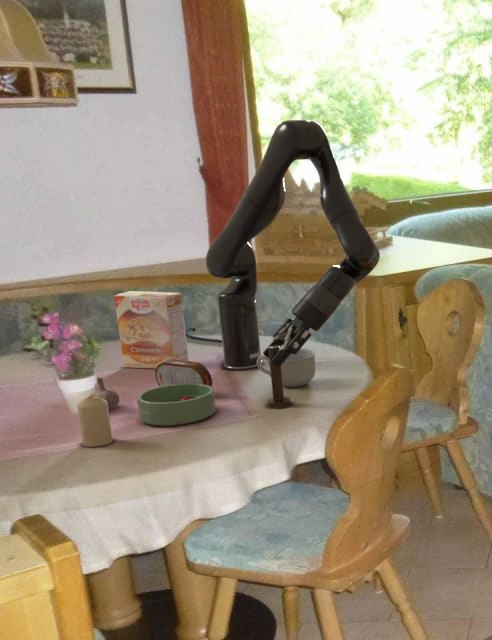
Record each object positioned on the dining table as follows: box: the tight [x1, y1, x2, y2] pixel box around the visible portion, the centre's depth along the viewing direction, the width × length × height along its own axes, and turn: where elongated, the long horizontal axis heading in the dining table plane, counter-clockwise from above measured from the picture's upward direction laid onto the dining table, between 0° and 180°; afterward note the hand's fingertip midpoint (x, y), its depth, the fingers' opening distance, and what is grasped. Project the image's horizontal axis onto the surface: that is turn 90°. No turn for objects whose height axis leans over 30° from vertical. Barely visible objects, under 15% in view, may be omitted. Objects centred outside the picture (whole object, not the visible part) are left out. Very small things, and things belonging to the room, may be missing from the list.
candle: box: [76, 394, 113, 448], centre depth 211 cm, size 6×6×10 cm
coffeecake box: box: [114, 290, 190, 370], centre depth 269 cm, size 15×7×20 cm, turn 81°
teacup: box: [257, 347, 316, 388], centre depth 254 cm, size 14×11×8 cm
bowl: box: [136, 383, 217, 427], centre depth 228 cm, size 16×16×6 cm
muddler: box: [267, 346, 291, 409], centre depth 236 cm, size 5×5×14 cm
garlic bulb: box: [89, 376, 120, 411], centre depth 233 cm, size 8×7×8 cm
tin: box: [154, 359, 213, 387], centre depth 244 cm, size 15×3×8 cm, turn 71°
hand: (270, 360), depth 234 cm, fingers open, 8 cm apart
